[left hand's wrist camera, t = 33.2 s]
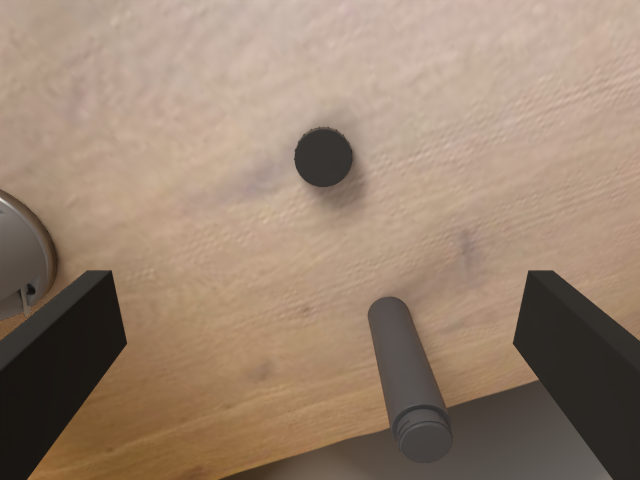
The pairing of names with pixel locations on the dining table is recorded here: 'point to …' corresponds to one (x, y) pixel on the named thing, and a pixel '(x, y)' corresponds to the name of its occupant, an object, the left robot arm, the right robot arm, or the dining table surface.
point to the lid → (323, 157)
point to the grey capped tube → (408, 384)
